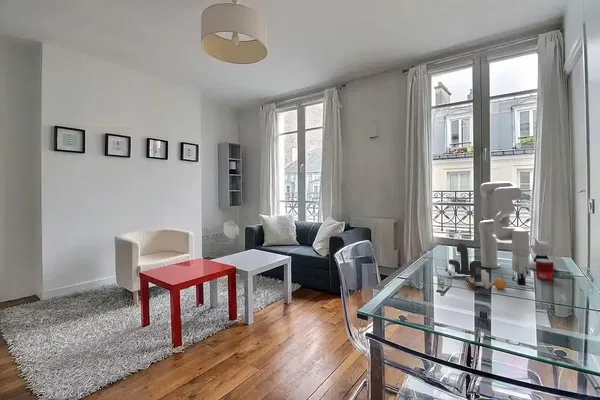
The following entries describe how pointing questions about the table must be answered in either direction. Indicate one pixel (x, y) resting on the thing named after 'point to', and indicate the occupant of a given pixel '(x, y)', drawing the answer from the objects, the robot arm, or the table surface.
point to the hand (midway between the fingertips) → (521, 285)
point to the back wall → (470, 282)
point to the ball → (500, 283)
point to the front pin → (482, 284)
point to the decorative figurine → (540, 252)
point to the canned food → (545, 269)
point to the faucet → (465, 262)
